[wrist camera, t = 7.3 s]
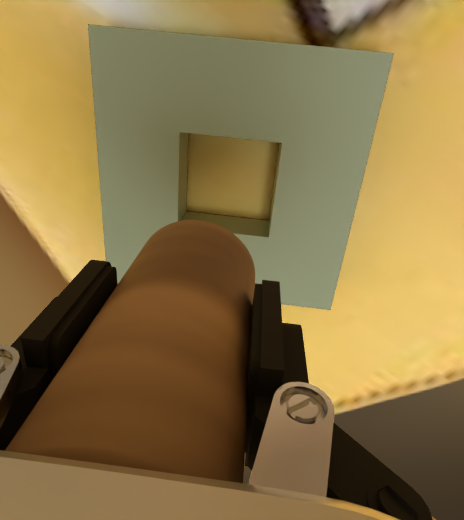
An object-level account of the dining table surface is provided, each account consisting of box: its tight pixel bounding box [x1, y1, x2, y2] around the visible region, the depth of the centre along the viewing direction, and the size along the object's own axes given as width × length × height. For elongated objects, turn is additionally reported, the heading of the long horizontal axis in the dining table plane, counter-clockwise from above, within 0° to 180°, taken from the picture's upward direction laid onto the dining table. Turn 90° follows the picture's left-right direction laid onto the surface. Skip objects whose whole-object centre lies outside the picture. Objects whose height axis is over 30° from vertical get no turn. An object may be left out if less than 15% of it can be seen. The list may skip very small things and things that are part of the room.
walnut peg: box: [5, 220, 255, 483], centre depth 11 cm, size 4×4×9 cm
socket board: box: [88, 24, 394, 310], centre depth 25 cm, size 16×16×3 cm
